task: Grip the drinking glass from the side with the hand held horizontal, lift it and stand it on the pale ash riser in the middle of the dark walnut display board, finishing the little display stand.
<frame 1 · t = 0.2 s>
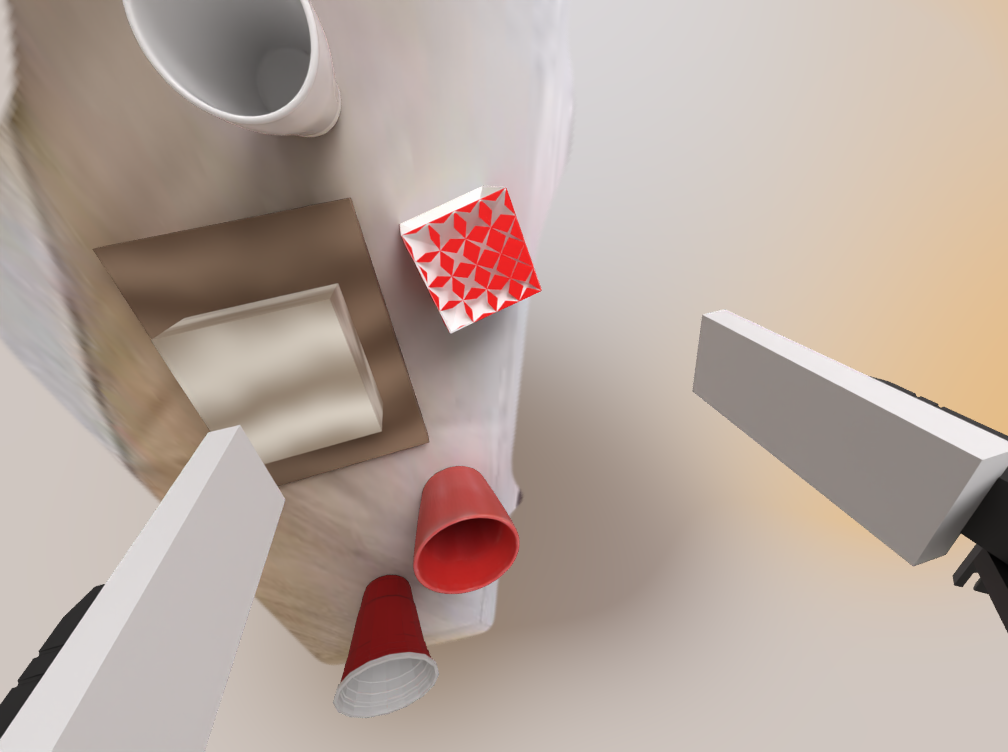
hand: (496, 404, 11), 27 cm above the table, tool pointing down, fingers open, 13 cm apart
red patterned cube: (459, 248, 36), on the table
plastic cup: (389, 588, 52), on the table
drinking glass: (302, 95, 29), on the table
flower pot: (455, 489, 48), on the table
display stand: (297, 358, 36), on the table
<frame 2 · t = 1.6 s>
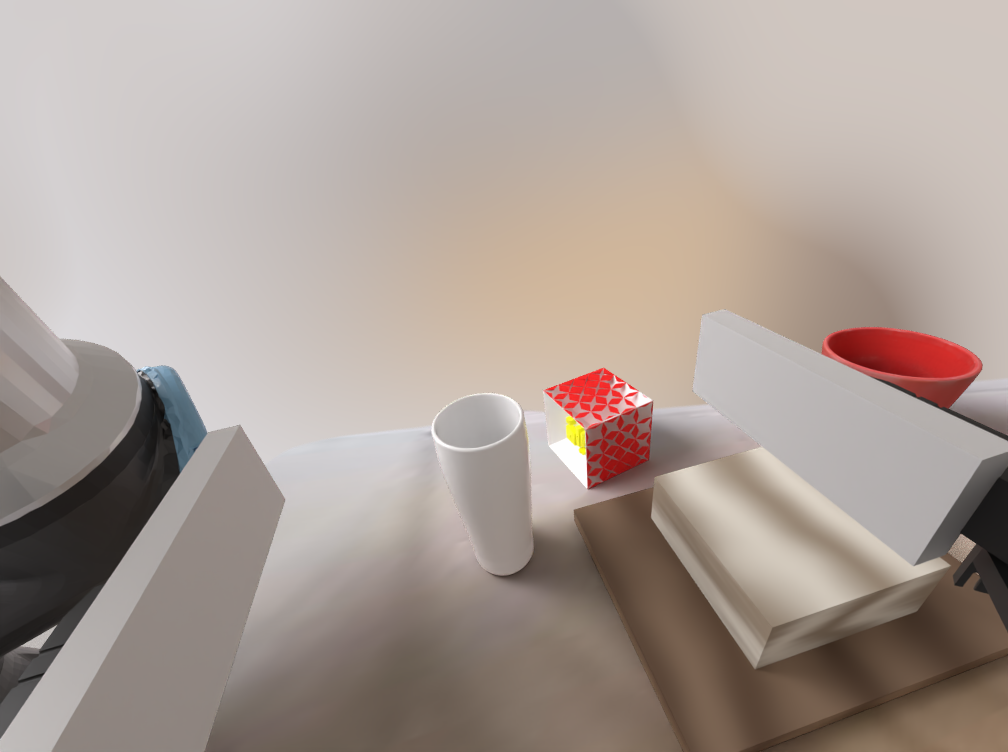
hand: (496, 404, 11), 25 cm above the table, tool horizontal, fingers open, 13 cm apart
red patterned cube: (596, 454, 45), on the table
drinking glass: (505, 551, 36), on the table
flower pot: (861, 431, 42), on the table
display stand: (760, 569, 31), on the table
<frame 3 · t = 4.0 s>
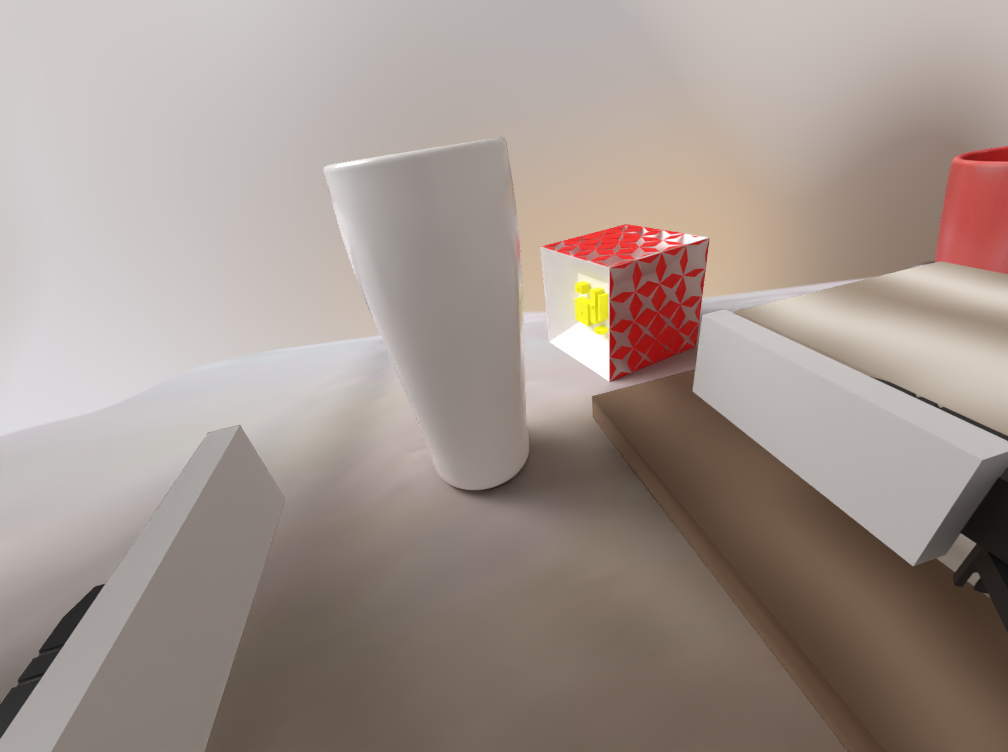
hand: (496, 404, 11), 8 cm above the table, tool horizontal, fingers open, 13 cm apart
red patterned cube: (618, 347, 31), on the table
drinking glass: (483, 461, 22), on the table
flower pot: (1002, 300, 29), on the table
display stand: (927, 462, 18), on the table
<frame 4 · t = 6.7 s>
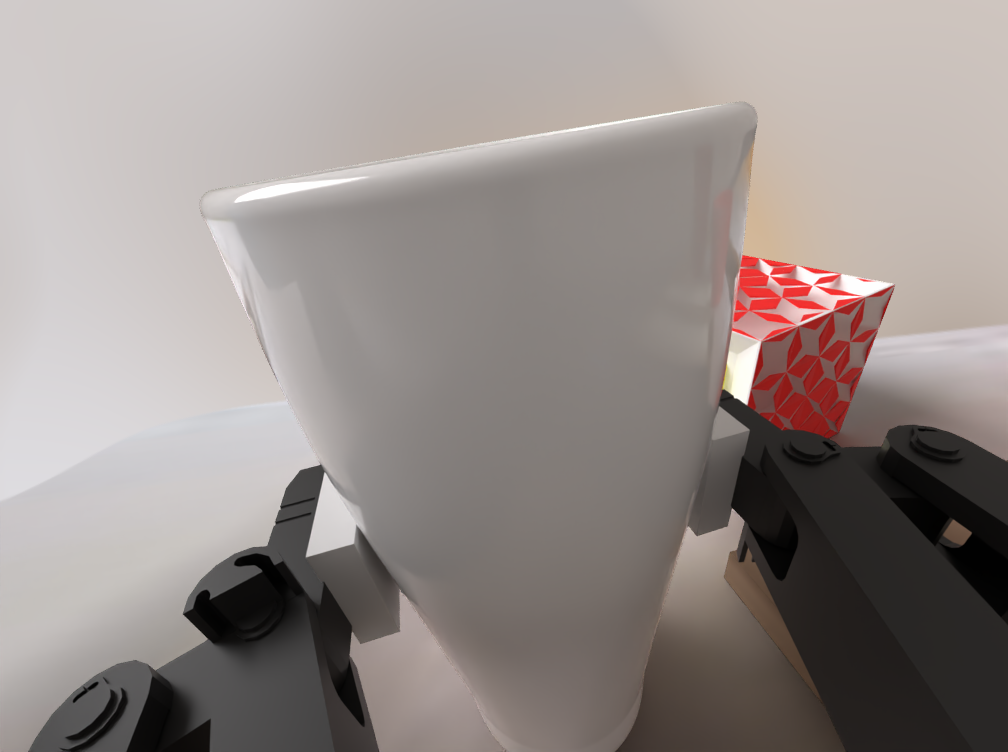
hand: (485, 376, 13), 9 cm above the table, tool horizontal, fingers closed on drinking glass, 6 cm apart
red patterned cube: (716, 425, 22), on the table
drinking glass: (556, 671, 13), on the table, touching gripper
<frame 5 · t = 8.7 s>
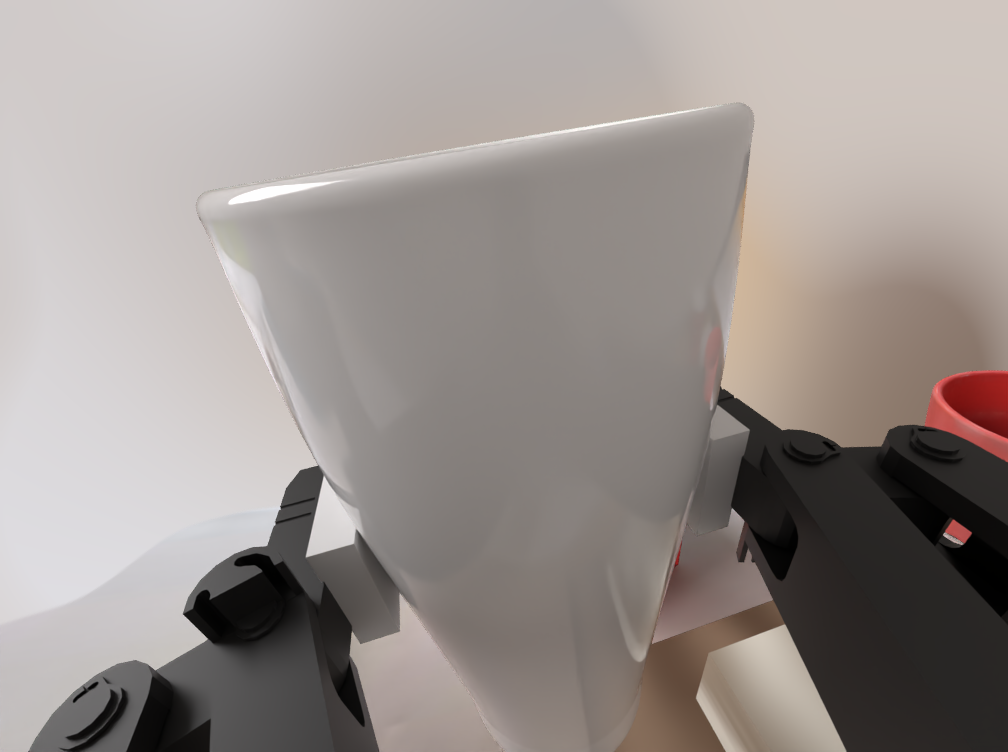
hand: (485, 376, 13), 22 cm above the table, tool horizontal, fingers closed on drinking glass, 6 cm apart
drinking glass: (555, 672, 13), point 13 cm above the table, touching gripper
flower pot: (981, 518, 29), on the table
when the fingers open (16 cm above the table, at t = 11.2 s): drinking glass stays where it is, resting on display stand.
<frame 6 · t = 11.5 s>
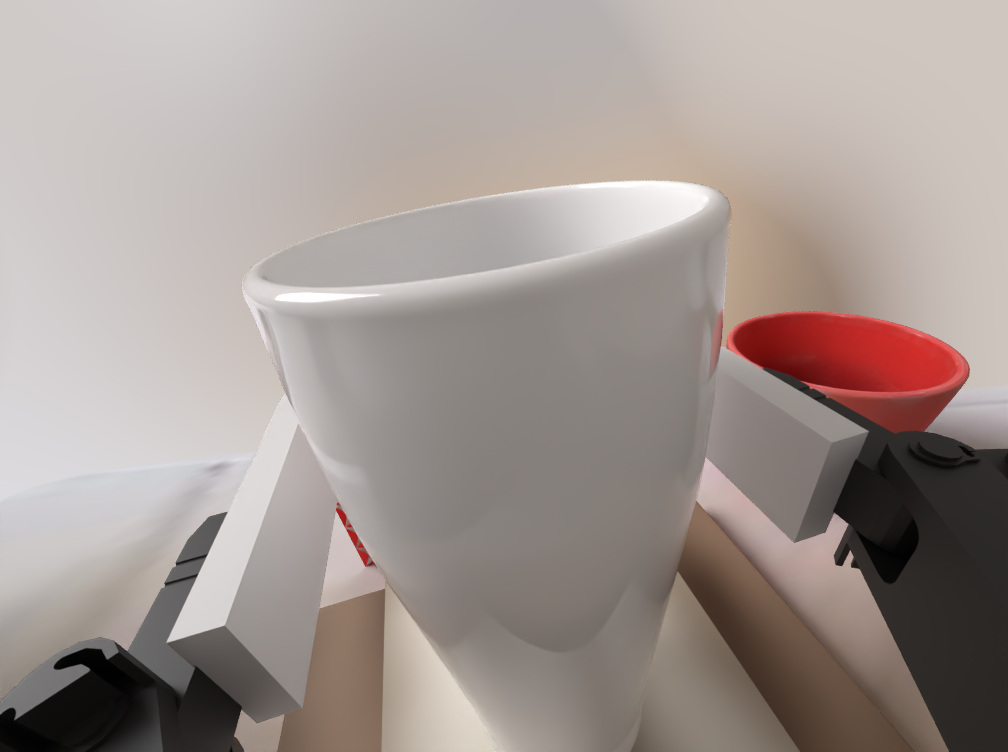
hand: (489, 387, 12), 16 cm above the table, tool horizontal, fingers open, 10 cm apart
red patterned cube: (410, 503, 30), on the table
drinking glass: (559, 690, 13), point 6 cm above the table, touching display stand
flower pot: (793, 467, 28), on the table
display stand: (568, 751, 17), on the table
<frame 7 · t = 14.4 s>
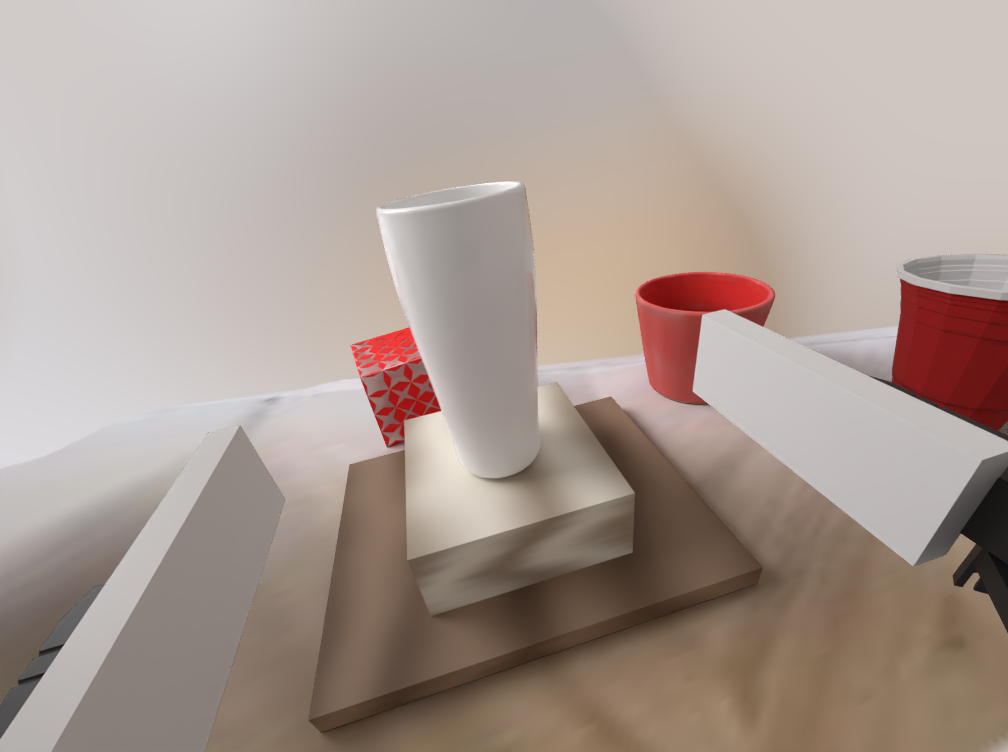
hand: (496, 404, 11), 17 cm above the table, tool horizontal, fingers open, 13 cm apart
red patterned cube: (417, 414, 42), on the table
plastic cup: (935, 418, 31), on the table
drinking glass: (500, 454, 25), point 6 cm above the table, touching display stand
flower pot: (689, 384, 40), on the table
display stand: (512, 518, 28), on the table
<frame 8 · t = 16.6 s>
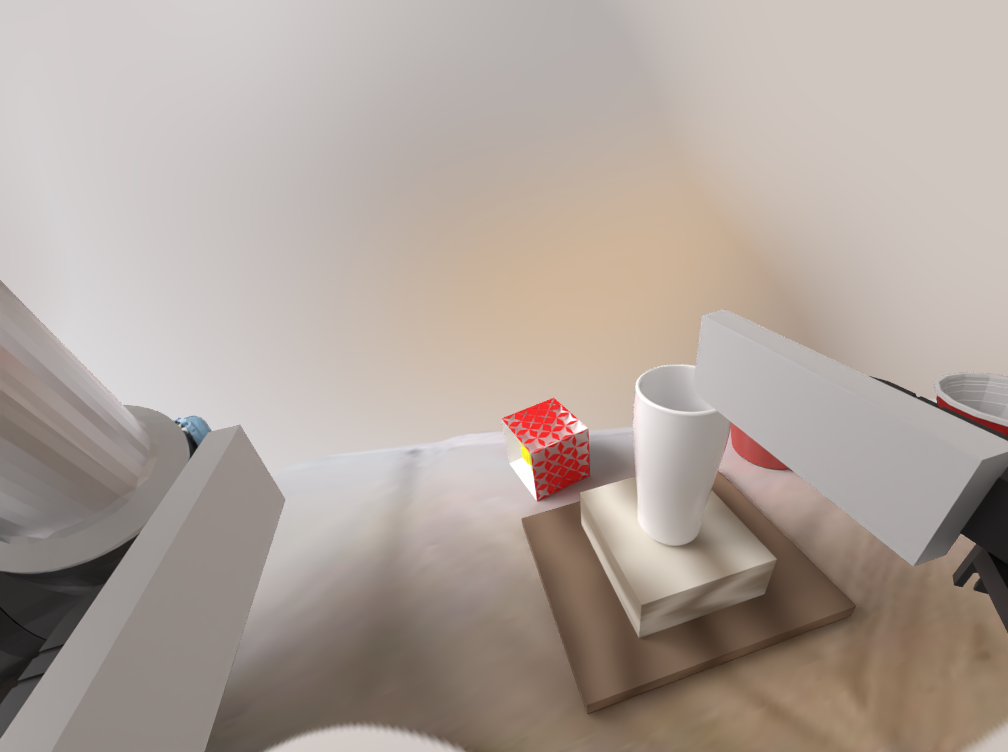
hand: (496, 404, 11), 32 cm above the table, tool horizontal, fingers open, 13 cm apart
red patterned cube: (548, 470, 53), on the table
plastic cup: (959, 488, 43), on the table
drinking glass: (667, 524, 36), point 6 cm above the table, touching display stand
flower pot: (765, 449, 51), on the table
display stand: (661, 564, 40), on the table
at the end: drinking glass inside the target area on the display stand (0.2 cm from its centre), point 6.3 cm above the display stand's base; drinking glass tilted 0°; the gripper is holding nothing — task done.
